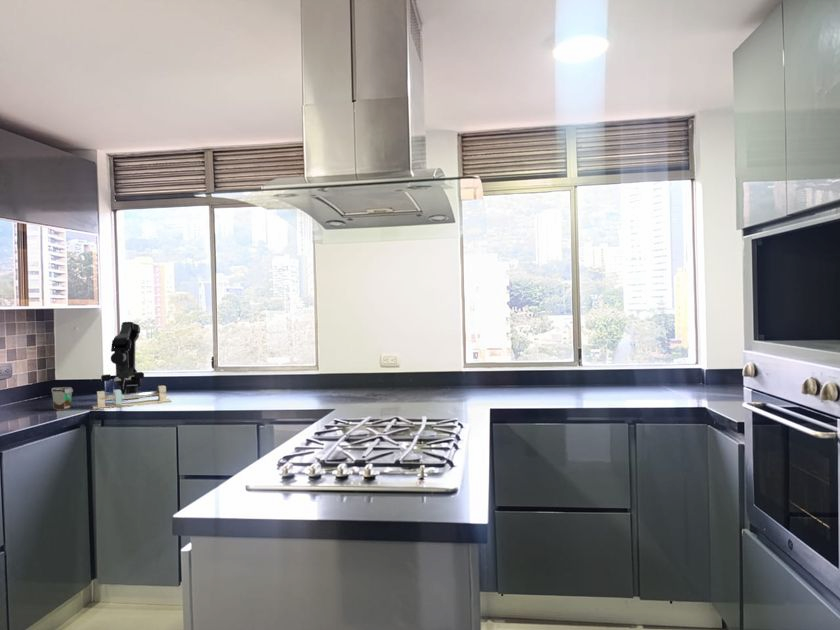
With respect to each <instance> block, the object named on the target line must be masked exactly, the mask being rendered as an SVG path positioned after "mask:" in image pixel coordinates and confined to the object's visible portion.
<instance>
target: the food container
mask: <svg viewBox="0 0 840 630" xmlns="http://www.w3.org/2000/svg"><path fill="white" fill-rule="evenodd" d="M73 392H74V389H73V388H72V386H62V387H61V386H60V387H59V386H58V387H52V388H51V394H52V406H53V410H57V411H58V410H59V411H60V410H61V411H67V410H71V409H72V398H73V397H72V396H73V395H72V394H73Z"/></svg>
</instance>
